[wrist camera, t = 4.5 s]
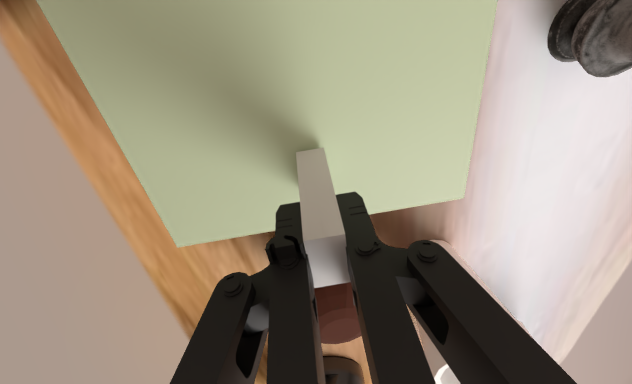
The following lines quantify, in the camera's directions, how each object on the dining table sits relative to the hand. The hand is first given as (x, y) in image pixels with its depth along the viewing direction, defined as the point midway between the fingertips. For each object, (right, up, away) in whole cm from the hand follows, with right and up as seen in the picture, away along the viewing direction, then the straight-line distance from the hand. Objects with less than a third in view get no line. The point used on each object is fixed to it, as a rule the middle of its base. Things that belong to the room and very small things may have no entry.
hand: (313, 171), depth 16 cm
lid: (-1, +3, 0) cm, 3 cm away
